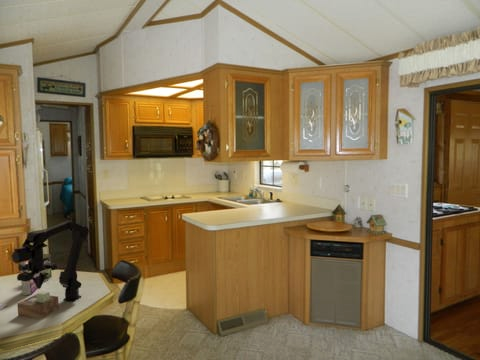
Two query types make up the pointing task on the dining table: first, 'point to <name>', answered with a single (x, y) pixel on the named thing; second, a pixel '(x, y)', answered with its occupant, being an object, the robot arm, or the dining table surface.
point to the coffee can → (49, 275)
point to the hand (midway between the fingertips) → (39, 288)
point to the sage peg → (43, 296)
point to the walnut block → (37, 307)
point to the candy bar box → (28, 285)
